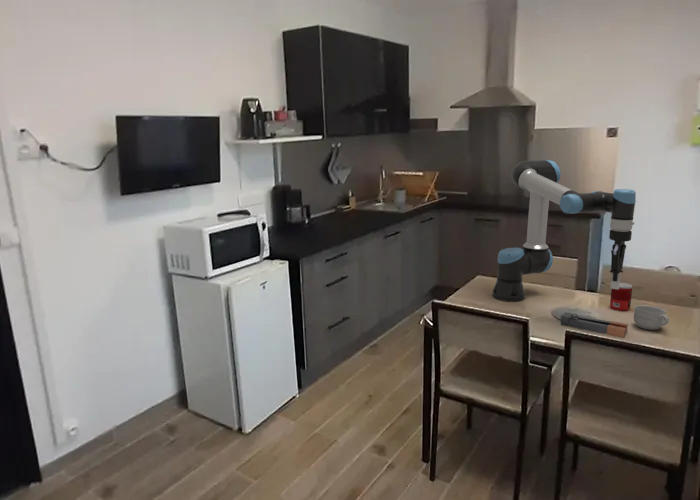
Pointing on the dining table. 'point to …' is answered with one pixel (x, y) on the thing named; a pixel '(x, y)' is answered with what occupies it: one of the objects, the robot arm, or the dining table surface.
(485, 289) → the dining table surface
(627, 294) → the canned food
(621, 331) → the tongs base
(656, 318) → the teacup
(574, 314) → the arm
